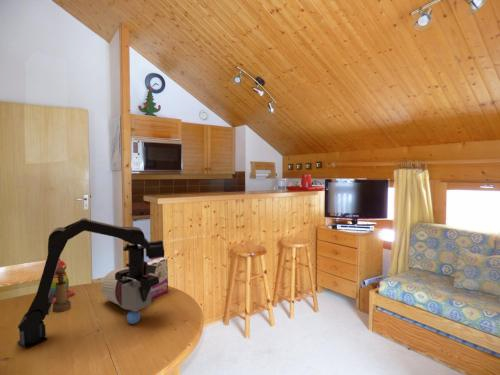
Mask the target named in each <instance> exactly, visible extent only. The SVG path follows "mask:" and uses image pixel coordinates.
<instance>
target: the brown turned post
mask: <svg viewBox="0 0 500 375" xmlns="http://www.w3.org/2000/svg"><path fill="white" fill-rule="evenodd" d="M64 271H65V272H66V269H65V270H64V268H63V267H58V268H57V270H56V272H57V274H58V275H59V277H58V281H59V282H58V283H56V302H55V303H52V311H53V312H54V313H55V312H56V313H61V312H65V311H67V310H69V309H71V307H72V304H71V303H72V302H71V300H69V299H68V298H67V283H66V282H63V280H64V277H63V273H64Z"/></svg>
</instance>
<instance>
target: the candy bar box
mask: <svg viewBox="0 0 500 375" xmlns="http://www.w3.org/2000/svg"><path fill="white" fill-rule="evenodd" d="M146 262H147V264H149V265H154V266H156V270H155V274H153V273H150V275H153V276H157V277H158V278H159V284H157V285H155V286H152V290H151V300H153V299H155V298H157V297H159V296H162V295H163V294H165V293H168V292H169V279H168V278H169V276H168V275H169V272H168V271H169V270H168V268H169V266H168V258H167V257H162V258H154V259H150V260H148V261H146Z"/></svg>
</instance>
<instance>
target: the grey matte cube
mask: <svg viewBox="0 0 500 375" xmlns="http://www.w3.org/2000/svg"><path fill="white" fill-rule="evenodd" d="M140 286H141V285H140V281H137V280H133V281H130V282H128V283H125V284H122V285H121V291H122V307H123V308H126V309H129V310H128V311H135V312H136V311H140V310H142V309H145V307H148V306H150V305H152V299H151V289H150V291H149V293H148V296H147V299H146V301H145V302H143V300H142V297H141V293H140V290H139V287H140ZM122 307H121V308H122ZM123 308H122V309H123ZM126 309H125V310H126Z"/></svg>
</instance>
